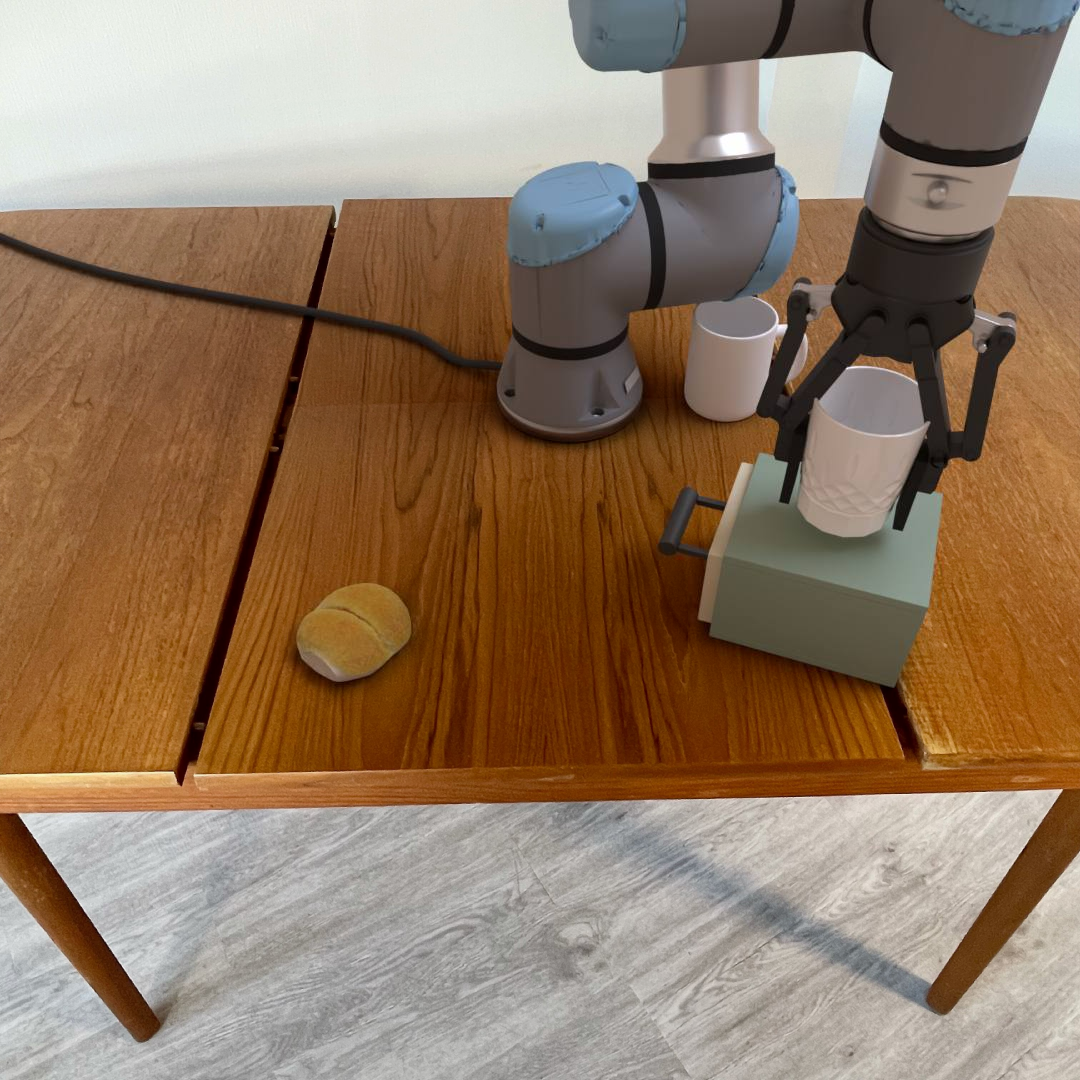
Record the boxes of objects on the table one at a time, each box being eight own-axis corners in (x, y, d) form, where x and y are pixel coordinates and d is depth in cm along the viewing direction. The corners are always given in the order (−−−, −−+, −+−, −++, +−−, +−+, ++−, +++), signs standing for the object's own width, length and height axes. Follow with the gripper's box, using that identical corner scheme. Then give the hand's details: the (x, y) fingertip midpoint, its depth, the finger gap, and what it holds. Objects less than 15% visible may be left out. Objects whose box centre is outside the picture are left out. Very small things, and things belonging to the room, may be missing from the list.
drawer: (645, 605, 77) (652, 539, 71) (681, 515, 84) (690, 449, 78) (867, 666, 72) (892, 601, 66) (884, 566, 79) (909, 499, 74)
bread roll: (430, 626, 76) (425, 595, 74) (355, 700, 71) (346, 669, 69) (358, 583, 80) (350, 551, 77) (281, 651, 75) (270, 619, 72)
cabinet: (708, 636, 75) (723, 554, 68) (742, 533, 83) (759, 452, 77) (893, 688, 71) (928, 607, 65) (910, 575, 80) (943, 493, 73)
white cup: (899, 551, 66) (940, 443, 59) (787, 536, 67) (814, 428, 60) (892, 479, 71) (929, 371, 64) (789, 466, 73) (813, 360, 66)
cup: (678, 376, 100) (688, 293, 93) (789, 375, 100) (807, 291, 93) (688, 424, 95) (698, 339, 87) (805, 422, 95) (825, 337, 87)
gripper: (737, 215, 53) (696, 504, 69) (1128, 276, 48) (984, 574, 64) (764, 163, 58) (720, 444, 74) (1121, 212, 53) (989, 505, 69)
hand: (842, 504), depth 69 cm, fingers closed on white cup, 7 cm apart
